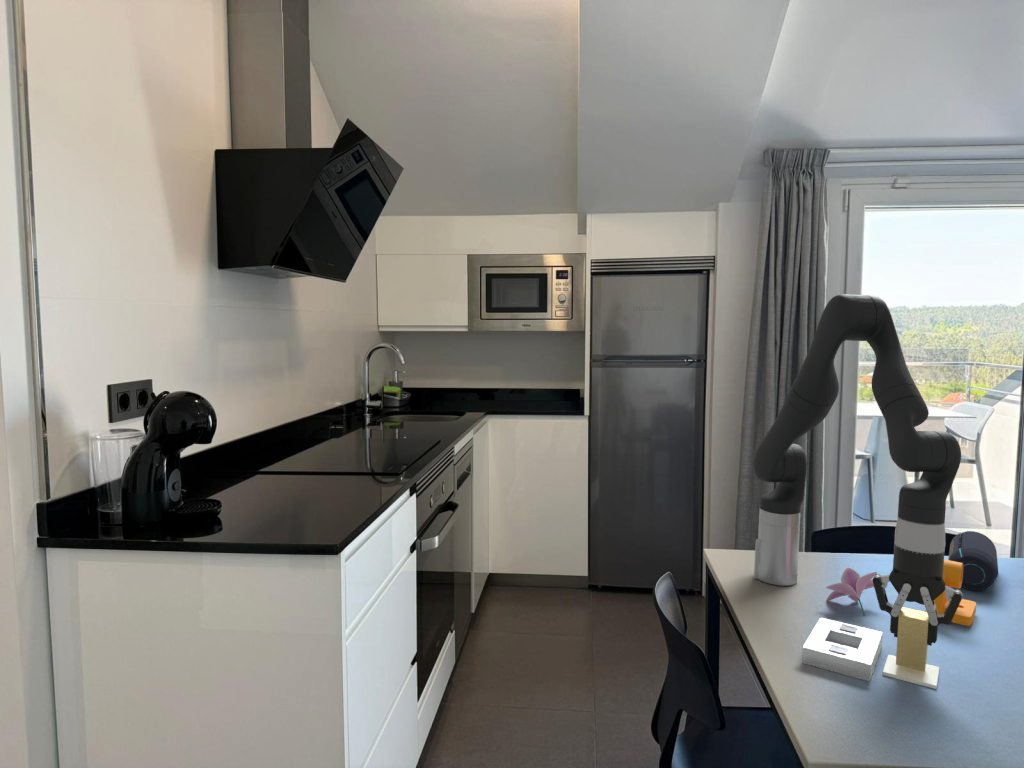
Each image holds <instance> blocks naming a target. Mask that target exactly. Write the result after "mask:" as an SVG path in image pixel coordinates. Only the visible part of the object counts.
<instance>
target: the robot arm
mask: <svg viewBox="0 0 1024 768" xmlns="http://www.w3.org/2000/svg"><path fill="white" fill-rule="evenodd" d="M898 336H899V335H898V333H897V329H896V325H895V322H894V320H893V316H892V313H891V310H890V308H889V306H888V304H887V303H886V302H885V300H883V299H882V298H881V297H879V296H877V295H869V294H852V293H851V294H849V293H845V294H843V293H842V294H836V295H835V296H833V297H831V299H829V300H828V302H827V304H826V305H825V307H824V309H823V311H822V314H821V316H820V319H819V321H818V324H817V328H816V330H815V333H814V336H813V339H812V341H811V344H810V346H809V347H810V348H809V350H808V351H807V354H806V356H805V358H804V361H803V363H802V365H801V367H800V370H799V372H798V374H797V375H796V377H795V379H794V381H793V383H792V385H791V386H790V389H789V391H788V393H787V396H786V398H785V400H784V402H783V404H782V407H781V409H780V410H779V413H778V415H777V416H776V418H775V419H774V421H773V424H772V425H771V427H770V428H769V430H768V431H767V433H766V435H765V436H764V438H763V439H762V441H761V442H760V444H759V446H757V447H758V448H757V450H756V451H755V454H754V457H753V472H754V475H755V476H756V478H758V479H759V480H760V481H762V482H765V483H766V482H767V483H778V485H777V486H776V487H775V488H774V489H773V490H771V491H769V492H766V493H764V494H763V495H761V496H760V500H759V512H758V514H759V515H758V532H757V533H758V536H757V537H758V538H756V539H755V549H754V566H753V567H754V569H753V578H754V579H756V580H759V581H761V582H764V583H767V584H769V585H775V586H787V587H788V586H794V585H795V584H797V582H798V575H799V574H798V570H799V569H798V568H799V551H800V530H801V528H800V527H801V512H802V510H801V508H802V504H803V502H804V499H805V488H806V480H807V470H808V461H807V456H806V453H805V452H806V451H805V450H804V448H803V447H802V446H801V445H800V444H797V443H795V442H796V441H797V440H798V439H799V438H801V437H803V436H804V435H805V434H807V433H808V432H810V431H811V430H813V429H814V428H815V427H817V426H818V425H819V424H820V423H822V422H823V420H825V419H826V417H827V416H828V414H829V413H830V411H831V409H832V407H833V406H834V404H835V401H836V400H837V398H838V395H839V392H840V388H839V387H840V386H839V380H838V375H837V371H836V368H835V359H836V355H837V353H838V351H839V348H840V347H841V345H842V344H843V343H844V342H845V341H852V342H855V341H856V342H866V343H867V344H868V345H869V346H870V348H871V349H872V350H873V352H874V354H875V355H874V356H875V365H874V369H873V372H872V377H871V391H872V395H873V397H874V400H875V401H876V404H877V406H878V408H879V410H880V412H881V414H882V416H883V418H884V421H885V428H886V434H887V441H888V442H887V443H888V444H887V445H888V451H889V455H890V458H891V460H892V462H893V463H894V464H895V465H896V466H897V467H898V468H899V469H901V470H903V471H904V472H909V473H921V475H920V477H919V479H917V480H916V481H914V482H910V483H908V484H907V483H906V484H904V485H903V486H901V487H900V490H899V493H898V505H897V507H898V508H897V518H896V519H897V520H896V524H895V530H894V545H893V559H892V570H891V572H890V573H889V574H884V575H881V574H880V573H877V574H875V576H874V577H873V578H872V580H873V584H874V587H873V588H874V592H875V595H876V599H877V602H878V606H879V609H880V610H881V611H882V612H886V613H888V614H889V615H890V621H889V622H890V623H889V624H890V625H889V631H890V634H893V637H894V638H897V636H898V620H899V613H900V611H901V609H902V607H904V604H905V602H909V603H914V602H915V603H916V604H919V605H923V606H924V607H925V612H927V614H928V617H929V624H928V638H927V645H928V646H930V647H932V644H936V642H937V640H938V630H939V626H940V625H946V626H949V625H951V623H952V622H951V621H952V619H953V617H954V615H955V612H956V610H957V608H958V606H959V604H960V602H961V600H962V599H963V591H962V590H961V589H959V588H956V589H954V588H953V587H950V586H949V587H947V586H946V585H945V582H944V580H943V566H944V559H945V550H946V546H947V545H946V544H947V541H946V529H945V528H946V524H945V522H946V521H945V520H946V512H947V511H946V510H947V509H946V505H947V500H948V496H949V493H950V491H951V489H952V487H953V485H954V484H953V483H954V481H955V479H956V476H957V474H958V471H959V469H960V464H961V460H962V450H961V446H960V443H959V441H958V440H957V438H956V437H955V436H954V435H953V434H952V433H950V432H947V431H943V430H917V429H916V427H918V426H919V425H922V424H923V423H924V422H925V421H927V419H928V417H929V412H930V411H929V407H928V405H927V404H926V402H925V400H924V398H923V395H922V394H921V393H920V390H919V388H918V387H917V385H916V382H915V381H914V379H913V377H912V375H911V373H910V371H909V368H908V365H907V363H906V360H905V356H904V353H903V349H902V346H901V343H900V339H899V337H898ZM889 582H890V583H891V585H892V587H893V588H894V589H895V591H896V592H897V597H896V599H895V601H894V604H892V603H890V602H889V598H888V595H887V591H886V588H887V587H888V584H889ZM943 592H944V593H946V599H947V601H949V604H948V606H947V608H946V610H945V612H944V614H940V615H938V613H937V610H936V605H935V601H934V600H935V599H936V598H937V597H938V596H939V595H941V594H942V593H943Z"/></svg>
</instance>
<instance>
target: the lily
mask: <svg viewBox="0 0 1024 768" xmlns="http://www.w3.org/2000/svg"><path fill="white" fill-rule="evenodd" d="M875 574H878V572H877V571H875V572H870V573H867V574H865V575H862V576H861V575H860V574H859V573H858V572H857V571H856V570H855V569H852V568H850V567H847V568H845V570H844V571H843V573H842V574H841V578H840V582H838V583H837V582H836V583H833V584H830V585H827V586H826V587H825V589H828V590H831V592H830V594H829V595H828V597H827V598H826V602H830V601H832V600H836V599H838V598H841V597H844V596H847V597H848V598H849V599H851V600H852V601H854V602H855V603H858V602H859V605H860V608H861V612H862V615H863V616H864V615H865V616H866V614H865V611H864V608H863V603H862V601H861V599H860V598H861V596H862V594H863V591H865V590H868V589H872V588H874V584H873V578H874V576H875Z"/></svg>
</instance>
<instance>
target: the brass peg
mask: <svg viewBox="0 0 1024 768" xmlns="http://www.w3.org/2000/svg"><path fill="white" fill-rule="evenodd" d="M928 624H929V617H928V614H927V612H926V611H923V610H920V609H919V610H918V609H914V608H910V607H904V606H903V607H902V609H901V611H900V613H899V620H898V636H897V637H896V639H897V640H896V653H895V656H896V665H899V666H903V667H907V668H911V669H915V670H919V671H923V672H925V669H926V664H928V663H927V662H928V648H929V645H927V638H928Z"/></svg>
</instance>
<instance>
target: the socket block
mask: <svg viewBox="0 0 1024 768" xmlns="http://www.w3.org/2000/svg"><path fill="white" fill-rule="evenodd" d="M883 634H884V633H883V631H880V630H876V629H871V628H867V627H863V626H858V625H854V624H850V623H845V622H842V621H837V620H833V619H828V618H824V617H820V618H819V619H818V620H817V622H816V624H815V625H814V627H813V628H812V631H811V633H810V634H809V635H808V638H807V639H806V641H805V642H804V644H803V646H802V651H801V653H802V655H801V663H802V664H804V665H808V666H811V665H812V666H811V667H815V666H816V667H815V668H818V667H819V669H822V670H825V671H826V670H827V671H829V670H830V671H829V672H833V671H834V672H833V673H836V672H837V674H840V675H844V676H848V677H851V678H855V679H860V680H863V681H865V682H866V681H867V682H868V683H869V682H871V679H872V677H873V675H874V671H875V669H876V666H875V665H877V663H876V662H878V660H877V659H879V657H880V653H881V651H882V648H883ZM878 656H879V657H878Z"/></svg>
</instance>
